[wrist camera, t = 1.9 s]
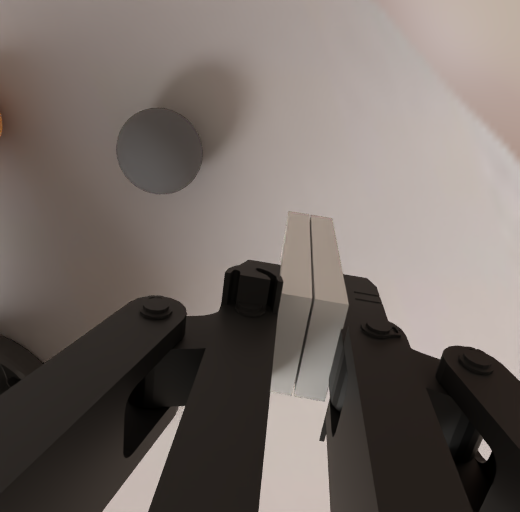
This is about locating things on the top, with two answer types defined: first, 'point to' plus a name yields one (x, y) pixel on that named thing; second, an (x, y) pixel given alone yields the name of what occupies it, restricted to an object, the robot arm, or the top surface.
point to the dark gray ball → (159, 151)
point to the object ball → (0, 124)
